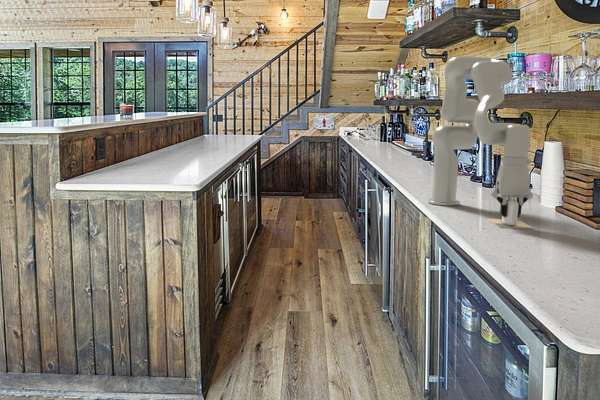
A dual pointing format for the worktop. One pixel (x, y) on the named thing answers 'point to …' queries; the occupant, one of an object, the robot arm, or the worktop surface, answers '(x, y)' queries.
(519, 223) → the card
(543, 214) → the worktop surface
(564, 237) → the worktop surface
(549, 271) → the worktop surface
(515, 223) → the eye dropper bottle
